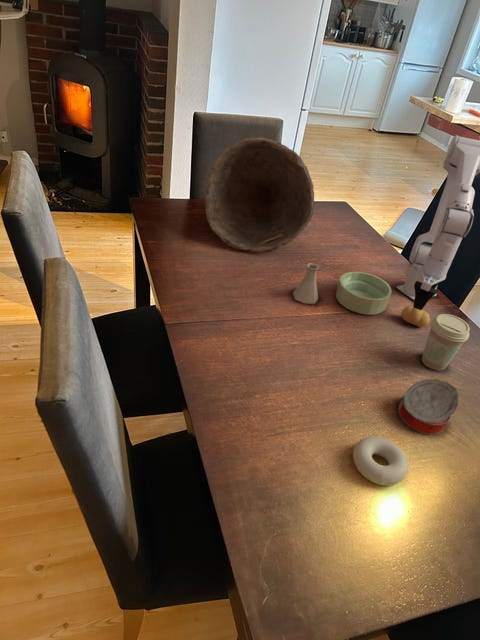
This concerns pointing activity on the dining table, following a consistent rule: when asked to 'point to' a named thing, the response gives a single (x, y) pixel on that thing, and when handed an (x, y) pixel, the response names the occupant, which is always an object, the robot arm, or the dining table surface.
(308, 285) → the flask
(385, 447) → the donut
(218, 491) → the dining table surface
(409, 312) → the potato
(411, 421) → the canned food
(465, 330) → the coffee cup
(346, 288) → the celadon bowl
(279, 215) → the bowl
